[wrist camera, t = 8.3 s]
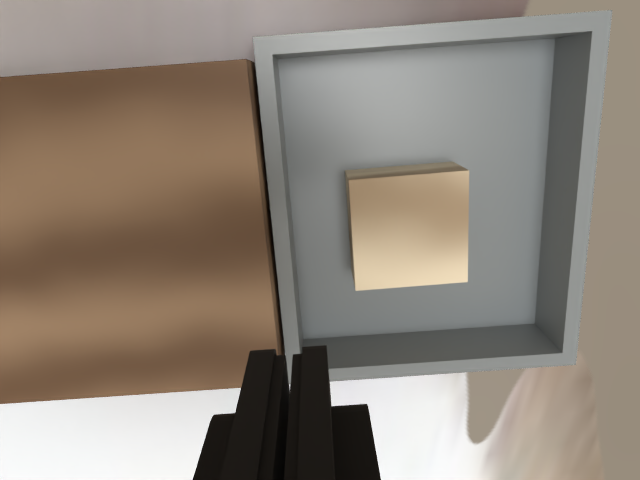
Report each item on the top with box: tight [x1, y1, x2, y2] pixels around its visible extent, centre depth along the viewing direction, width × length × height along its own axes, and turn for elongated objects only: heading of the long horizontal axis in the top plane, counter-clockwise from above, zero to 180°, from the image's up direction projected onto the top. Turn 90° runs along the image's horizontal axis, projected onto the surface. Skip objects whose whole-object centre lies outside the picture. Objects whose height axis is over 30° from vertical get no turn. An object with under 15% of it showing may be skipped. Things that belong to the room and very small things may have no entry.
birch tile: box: [345, 162, 469, 291], centre depth 26 cm, size 6×6×3 cm
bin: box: [253, 10, 612, 384], centre depth 26 cm, size 18×16×4 cm
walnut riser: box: [0, 59, 285, 404], centre depth 26 cm, size 16×16×6 cm
